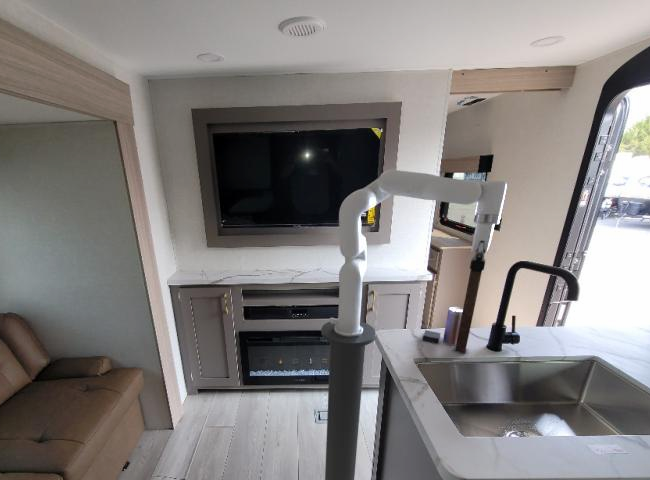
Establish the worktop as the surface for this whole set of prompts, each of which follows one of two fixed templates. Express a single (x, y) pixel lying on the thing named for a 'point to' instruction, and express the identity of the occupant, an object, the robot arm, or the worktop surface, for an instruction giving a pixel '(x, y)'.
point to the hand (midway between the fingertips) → (476, 268)
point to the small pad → (472, 263)
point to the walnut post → (468, 311)
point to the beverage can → (452, 325)
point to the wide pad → (431, 336)
